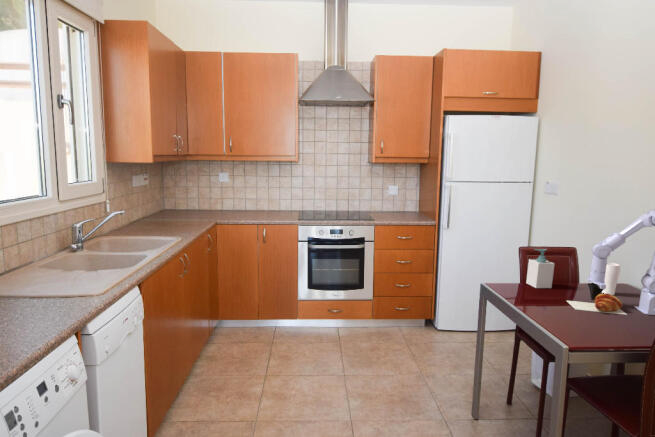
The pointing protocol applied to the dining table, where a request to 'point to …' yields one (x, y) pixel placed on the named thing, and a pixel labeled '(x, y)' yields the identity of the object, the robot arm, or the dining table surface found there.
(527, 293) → the dining table surface
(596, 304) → the croissant
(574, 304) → the mat
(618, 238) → the robot arm
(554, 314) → the dining table surface
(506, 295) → the dining table surface
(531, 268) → the soap bottle
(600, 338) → the dining table surface
